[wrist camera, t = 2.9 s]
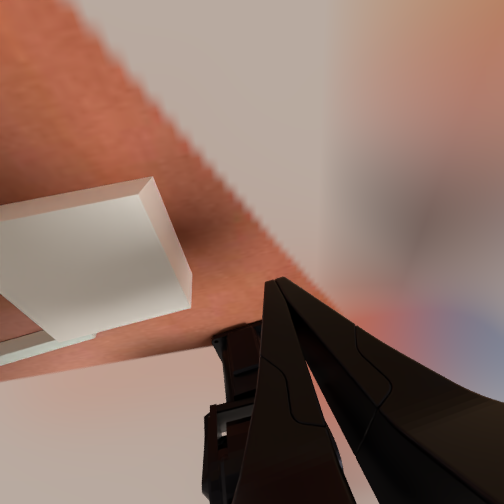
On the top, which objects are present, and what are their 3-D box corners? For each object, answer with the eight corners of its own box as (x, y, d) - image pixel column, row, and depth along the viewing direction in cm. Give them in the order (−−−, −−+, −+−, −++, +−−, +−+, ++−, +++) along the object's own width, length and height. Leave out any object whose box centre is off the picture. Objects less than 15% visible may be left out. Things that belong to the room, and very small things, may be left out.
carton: (192, 272, 17) (191, 307, 14) (87, 297, 16) (58, 342, 13) (153, 174, 13) (138, 194, 9) (4, 203, 12) (-70, 235, 9)
